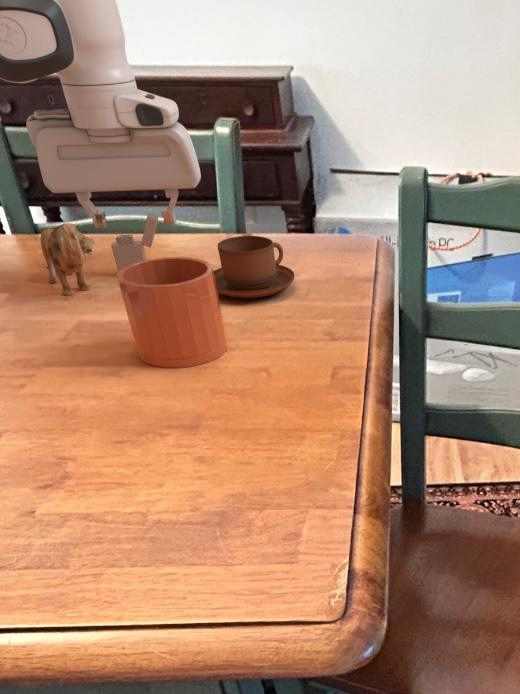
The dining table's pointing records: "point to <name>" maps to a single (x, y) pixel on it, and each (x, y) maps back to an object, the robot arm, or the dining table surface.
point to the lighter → (134, 245)
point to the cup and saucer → (251, 268)
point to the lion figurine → (66, 254)
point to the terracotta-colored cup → (173, 311)
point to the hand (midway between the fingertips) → (136, 225)
